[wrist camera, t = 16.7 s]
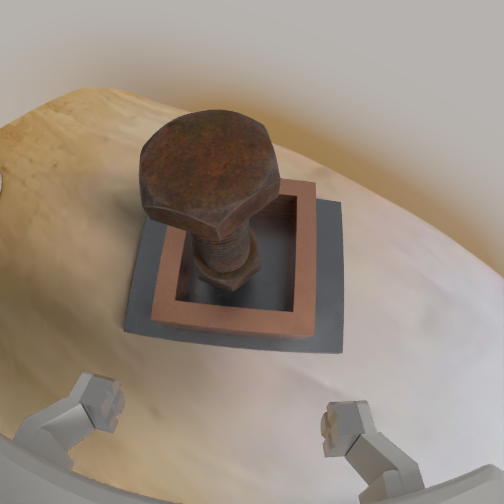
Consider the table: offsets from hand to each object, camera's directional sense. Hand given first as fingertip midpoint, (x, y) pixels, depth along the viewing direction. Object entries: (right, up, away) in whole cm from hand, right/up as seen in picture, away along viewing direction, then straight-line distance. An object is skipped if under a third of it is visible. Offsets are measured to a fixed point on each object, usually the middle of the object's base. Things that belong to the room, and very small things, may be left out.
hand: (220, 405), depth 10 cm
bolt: (-1, +4, +14) cm, 15 cm away
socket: (0, +4, +16) cm, 16 cm away
